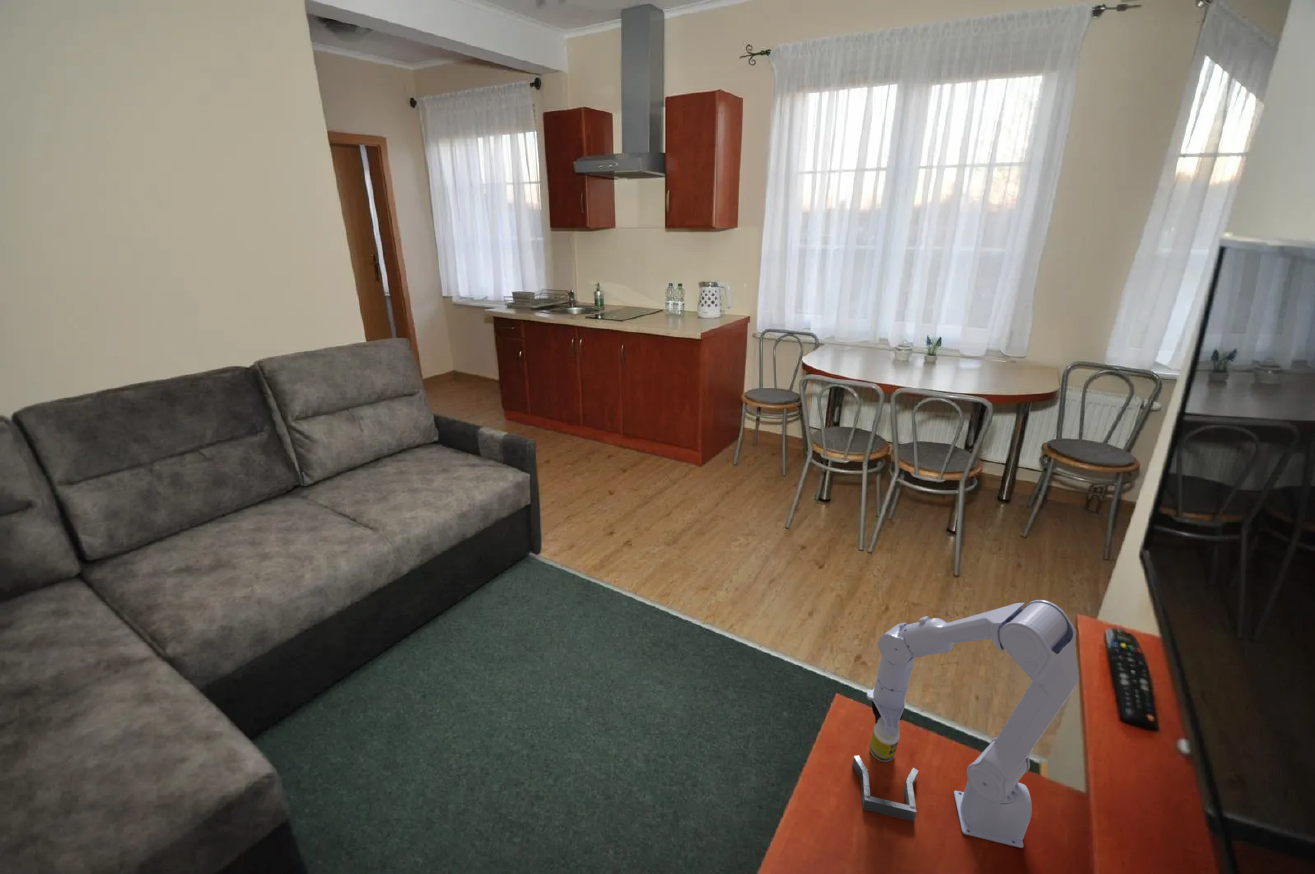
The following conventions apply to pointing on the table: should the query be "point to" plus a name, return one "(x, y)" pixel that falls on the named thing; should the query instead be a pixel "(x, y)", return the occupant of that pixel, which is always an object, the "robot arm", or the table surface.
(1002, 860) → the table surface
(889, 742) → the supplement bottle
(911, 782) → the u holder
